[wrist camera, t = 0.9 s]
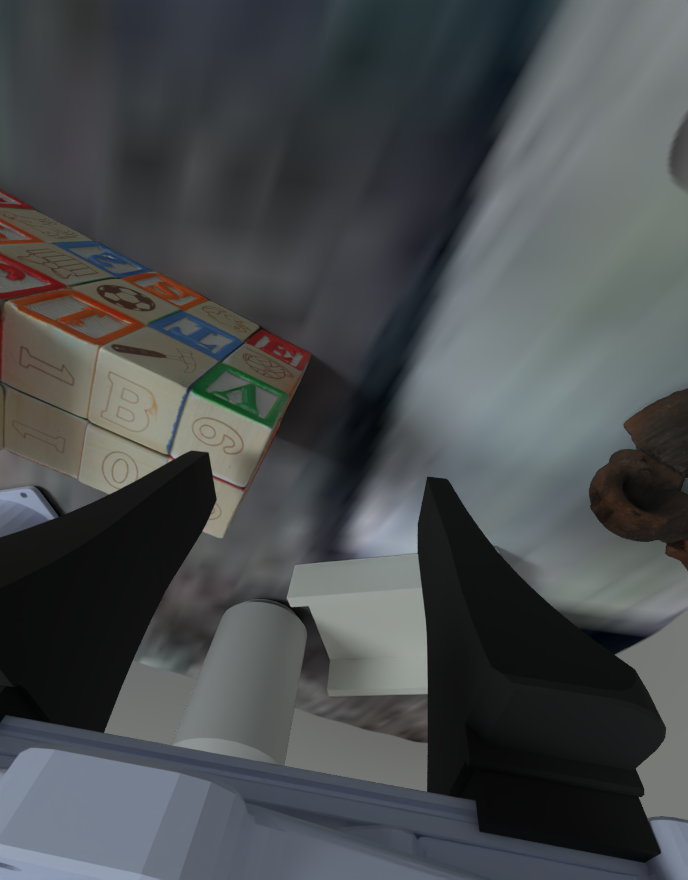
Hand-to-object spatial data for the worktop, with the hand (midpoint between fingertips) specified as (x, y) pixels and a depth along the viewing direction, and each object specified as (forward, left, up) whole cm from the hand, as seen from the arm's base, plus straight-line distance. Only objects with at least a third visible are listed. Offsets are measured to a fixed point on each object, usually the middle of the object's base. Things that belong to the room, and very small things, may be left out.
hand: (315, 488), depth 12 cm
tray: (+1, -21, -10) cm, 23 cm away
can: (-11, -21, -11) cm, 26 cm away
